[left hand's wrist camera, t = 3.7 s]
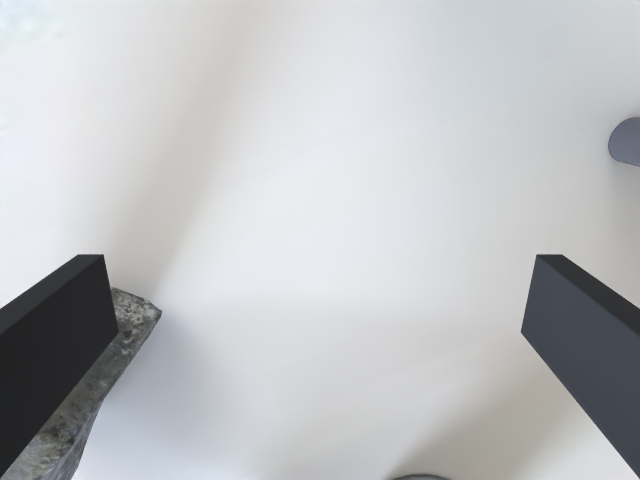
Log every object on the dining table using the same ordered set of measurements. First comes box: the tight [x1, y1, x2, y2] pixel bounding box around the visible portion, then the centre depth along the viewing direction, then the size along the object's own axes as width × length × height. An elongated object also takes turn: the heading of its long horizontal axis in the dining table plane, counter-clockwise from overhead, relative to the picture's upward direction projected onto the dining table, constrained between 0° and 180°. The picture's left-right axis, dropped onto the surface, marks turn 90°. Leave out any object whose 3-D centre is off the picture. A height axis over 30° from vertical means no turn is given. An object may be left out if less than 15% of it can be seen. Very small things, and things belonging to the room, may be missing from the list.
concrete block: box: [0, 287, 162, 480], centre depth 38 cm, size 27×9×20 cm, turn 147°
